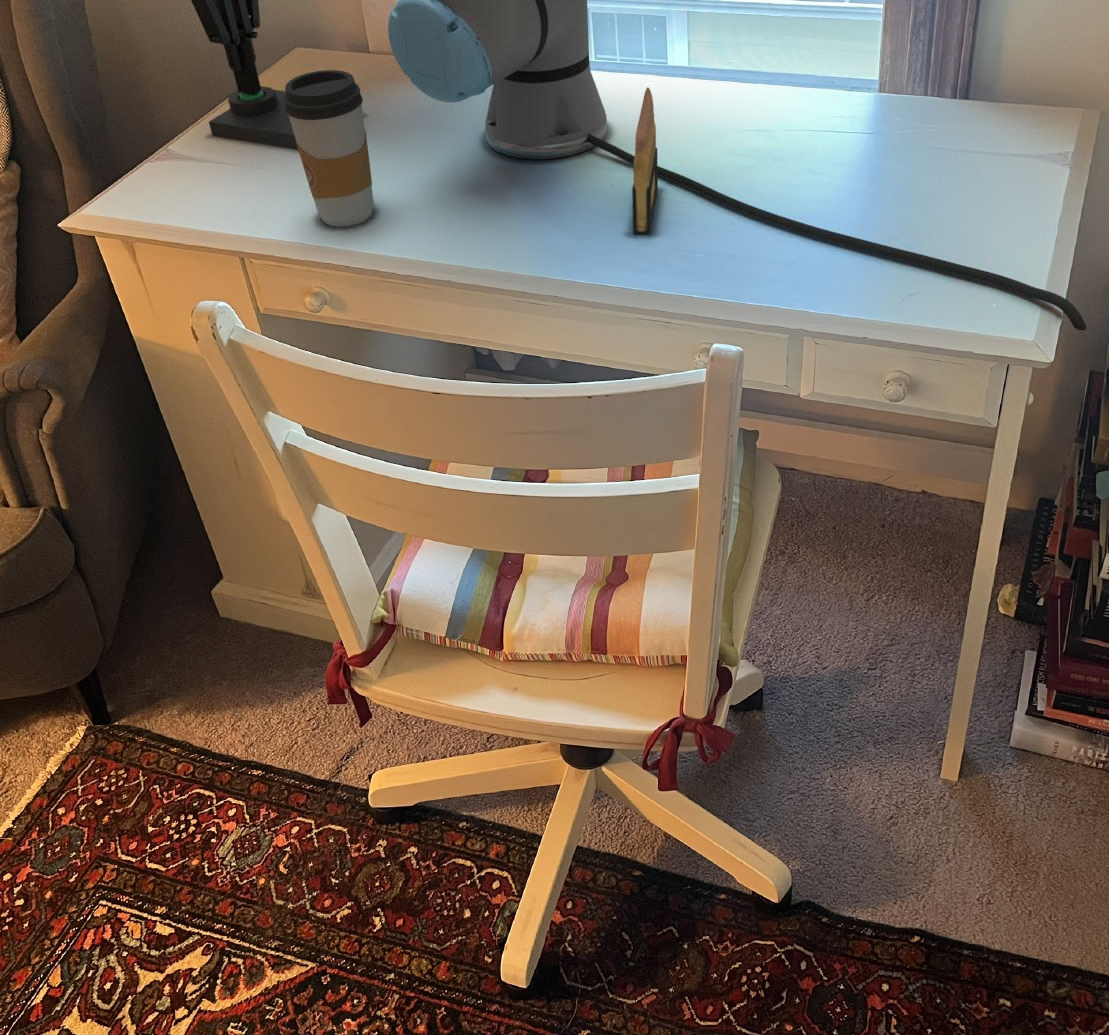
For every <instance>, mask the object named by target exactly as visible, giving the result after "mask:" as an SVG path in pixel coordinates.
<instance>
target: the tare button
mask: <svg viewBox="0 0 1109 1035" xmlns="http://www.w3.org/2000/svg"><path fill="white" fill-rule="evenodd" d="M263 96H264V92H263V91H262V90H261V91H260V92H258V93H256V94H255V95H254V94H247V93H240V95H239V97H240V100H243V101H251V100H256V99H259V98H262V97H263Z"/></svg>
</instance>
